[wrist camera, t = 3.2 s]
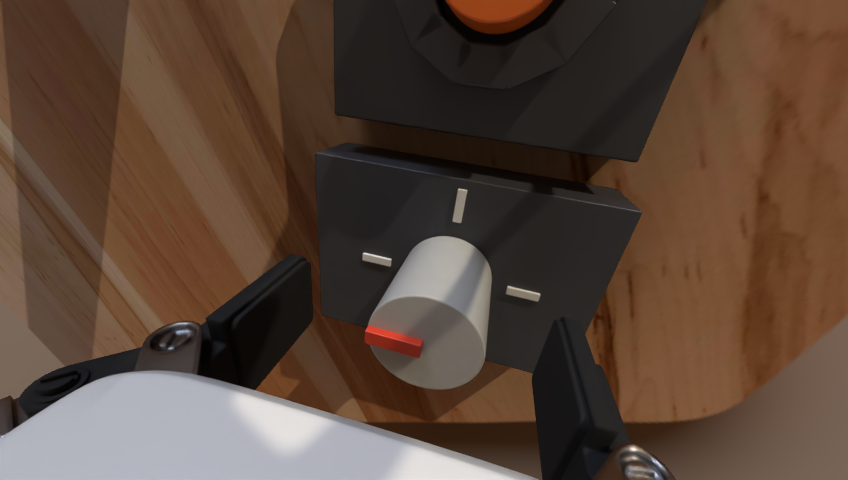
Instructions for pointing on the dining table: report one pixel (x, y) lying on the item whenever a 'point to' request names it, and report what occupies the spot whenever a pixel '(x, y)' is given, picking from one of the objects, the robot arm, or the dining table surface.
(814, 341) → the dining table surface
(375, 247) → the dial panel
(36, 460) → the robot arm
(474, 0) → the button
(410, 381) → the temp dial
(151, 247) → the dining table surface
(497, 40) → the button block
